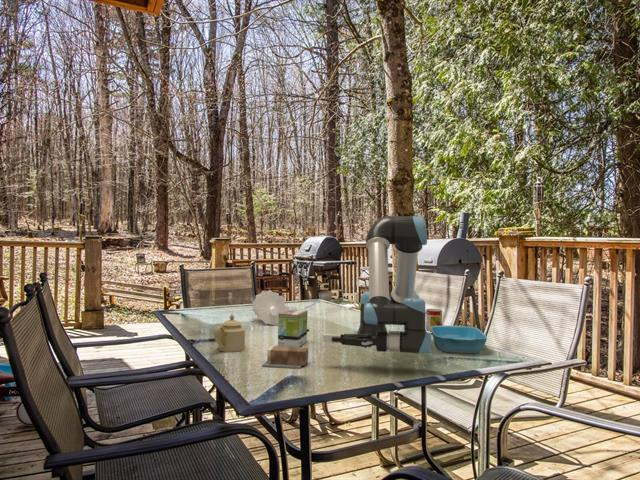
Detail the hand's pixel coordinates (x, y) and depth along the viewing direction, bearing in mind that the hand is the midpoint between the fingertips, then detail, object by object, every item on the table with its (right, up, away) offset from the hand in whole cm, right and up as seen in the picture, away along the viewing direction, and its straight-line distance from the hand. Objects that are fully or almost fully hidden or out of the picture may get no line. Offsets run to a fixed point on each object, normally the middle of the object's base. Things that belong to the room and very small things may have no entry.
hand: (323, 338), depth 175 cm
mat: (-14, -10, +2) cm, 18 cm away
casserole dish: (+60, -12, +36) cm, 71 cm away
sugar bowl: (-39, -10, +23) cm, 46 cm away
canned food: (+57, -11, +66) cm, 88 cm away
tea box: (-14, -10, +36) cm, 40 cm away
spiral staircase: (-30, -11, +92) cm, 98 cm away
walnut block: (-6, -7, +1) cm, 9 cm away
